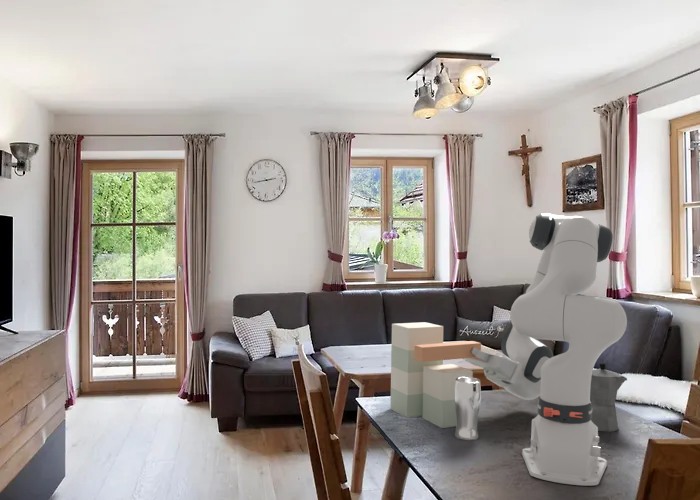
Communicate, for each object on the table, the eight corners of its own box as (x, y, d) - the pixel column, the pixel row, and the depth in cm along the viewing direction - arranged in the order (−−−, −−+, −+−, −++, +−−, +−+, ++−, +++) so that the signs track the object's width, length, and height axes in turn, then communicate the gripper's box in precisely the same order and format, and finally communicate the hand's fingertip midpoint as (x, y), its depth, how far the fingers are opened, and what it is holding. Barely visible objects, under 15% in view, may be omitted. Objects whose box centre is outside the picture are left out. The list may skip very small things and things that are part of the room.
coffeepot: (632, 428, 164) (633, 364, 164) (619, 436, 157) (620, 368, 157) (577, 416, 175) (578, 356, 175) (563, 423, 168) (564, 360, 168)
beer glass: (468, 442, 150) (469, 384, 150) (447, 435, 155) (448, 379, 155) (485, 437, 154) (486, 380, 154) (464, 430, 160) (465, 375, 159)
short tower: (451, 414, 175) (452, 364, 175) (471, 423, 166) (472, 370, 166) (422, 418, 170) (423, 366, 170) (441, 428, 161) (442, 373, 161)
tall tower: (423, 404, 185) (425, 322, 185) (441, 413, 176) (443, 326, 175) (390, 408, 180) (391, 323, 179) (407, 417, 171) (408, 328, 170)
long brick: (472, 354, 174) (472, 340, 174) (480, 356, 170) (481, 343, 170) (414, 359, 166) (414, 345, 166) (421, 362, 162) (422, 347, 162)
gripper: (481, 353, 186) (450, 333, 181) (526, 365, 167) (493, 344, 162) (473, 371, 185) (441, 351, 179) (517, 385, 166) (483, 364, 161)
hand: (466, 348), depth 171 cm, fingers closed on long brick, 4 cm apart
